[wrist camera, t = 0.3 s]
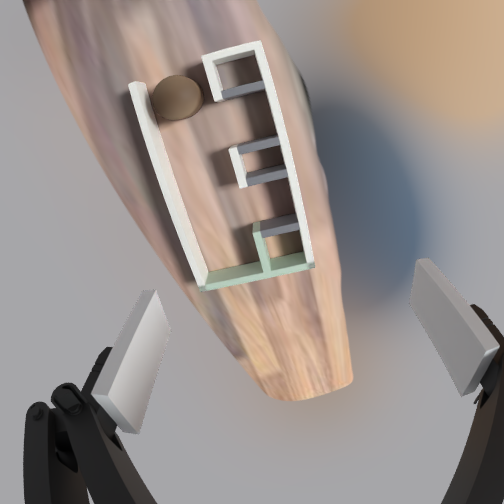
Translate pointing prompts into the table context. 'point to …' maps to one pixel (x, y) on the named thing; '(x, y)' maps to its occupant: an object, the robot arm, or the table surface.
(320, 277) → the table surface
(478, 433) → the robot arm
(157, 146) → the box
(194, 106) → the brown rounded cylinder
